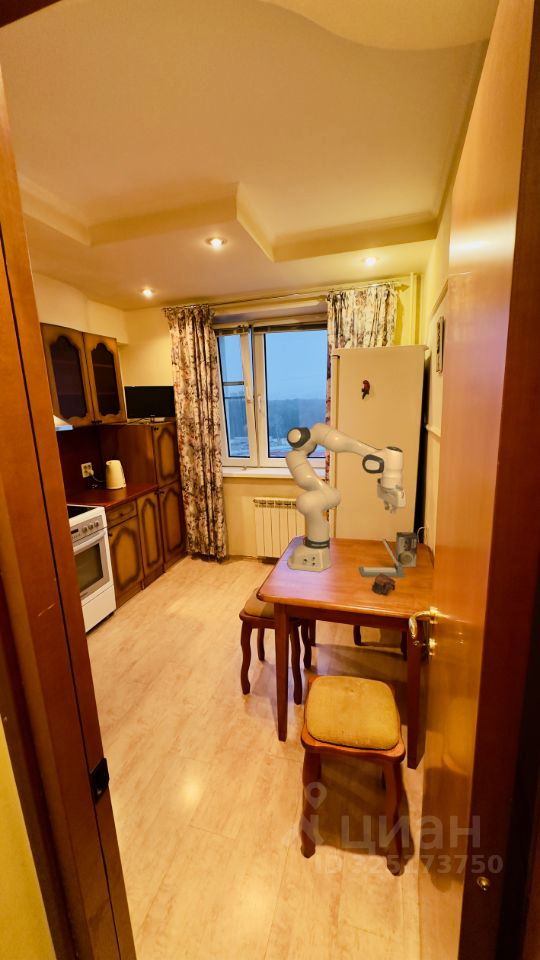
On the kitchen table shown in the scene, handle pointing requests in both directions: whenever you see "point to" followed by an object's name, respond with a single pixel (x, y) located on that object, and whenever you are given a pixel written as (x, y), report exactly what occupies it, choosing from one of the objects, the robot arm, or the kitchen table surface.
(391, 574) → the base
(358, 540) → the kitchen table surface
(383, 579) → the pottery mug
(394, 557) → the arm
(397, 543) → the coffee box
